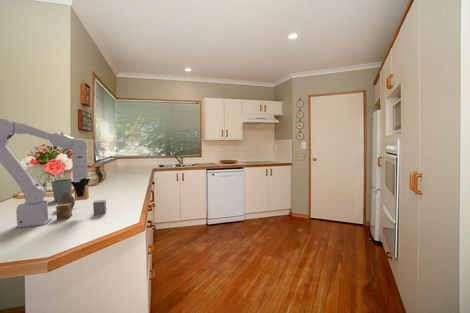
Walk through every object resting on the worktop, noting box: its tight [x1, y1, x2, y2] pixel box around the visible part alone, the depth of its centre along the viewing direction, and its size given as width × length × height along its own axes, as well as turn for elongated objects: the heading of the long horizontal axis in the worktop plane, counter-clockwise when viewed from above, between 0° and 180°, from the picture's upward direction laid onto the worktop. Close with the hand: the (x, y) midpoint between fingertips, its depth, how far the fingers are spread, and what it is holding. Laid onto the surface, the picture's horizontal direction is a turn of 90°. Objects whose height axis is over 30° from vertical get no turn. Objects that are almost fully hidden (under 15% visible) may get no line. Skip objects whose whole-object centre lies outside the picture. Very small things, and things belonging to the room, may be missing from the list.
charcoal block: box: [92, 199, 107, 216], centre depth 108 cm, size 4×4×6 cm
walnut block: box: [55, 203, 73, 221], centre depth 103 cm, size 4×4×6 cm
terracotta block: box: [73, 184, 90, 202], centre depth 105 cm, size 4×4×6 cm
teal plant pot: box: [50, 178, 73, 202], centre depth 139 cm, size 10×10×12 cm
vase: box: [57, 192, 76, 209], centre depth 117 cm, size 7×7×9 cm
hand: (81, 195), depth 105 cm, fingers closed on terracotta block, 4 cm apart
